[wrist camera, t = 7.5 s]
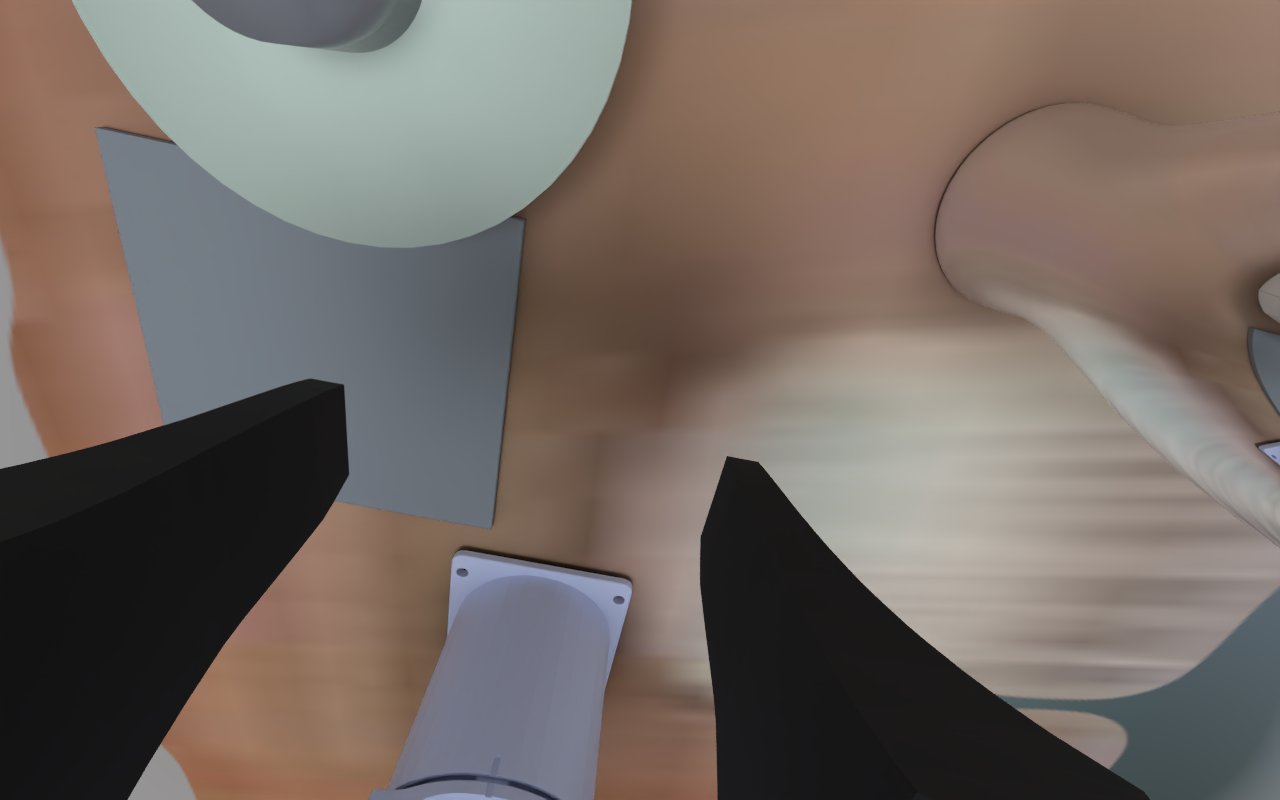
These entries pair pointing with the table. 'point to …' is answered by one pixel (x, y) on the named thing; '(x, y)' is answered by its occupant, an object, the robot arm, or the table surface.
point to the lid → (372, 102)
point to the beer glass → (1142, 276)
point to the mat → (324, 327)
